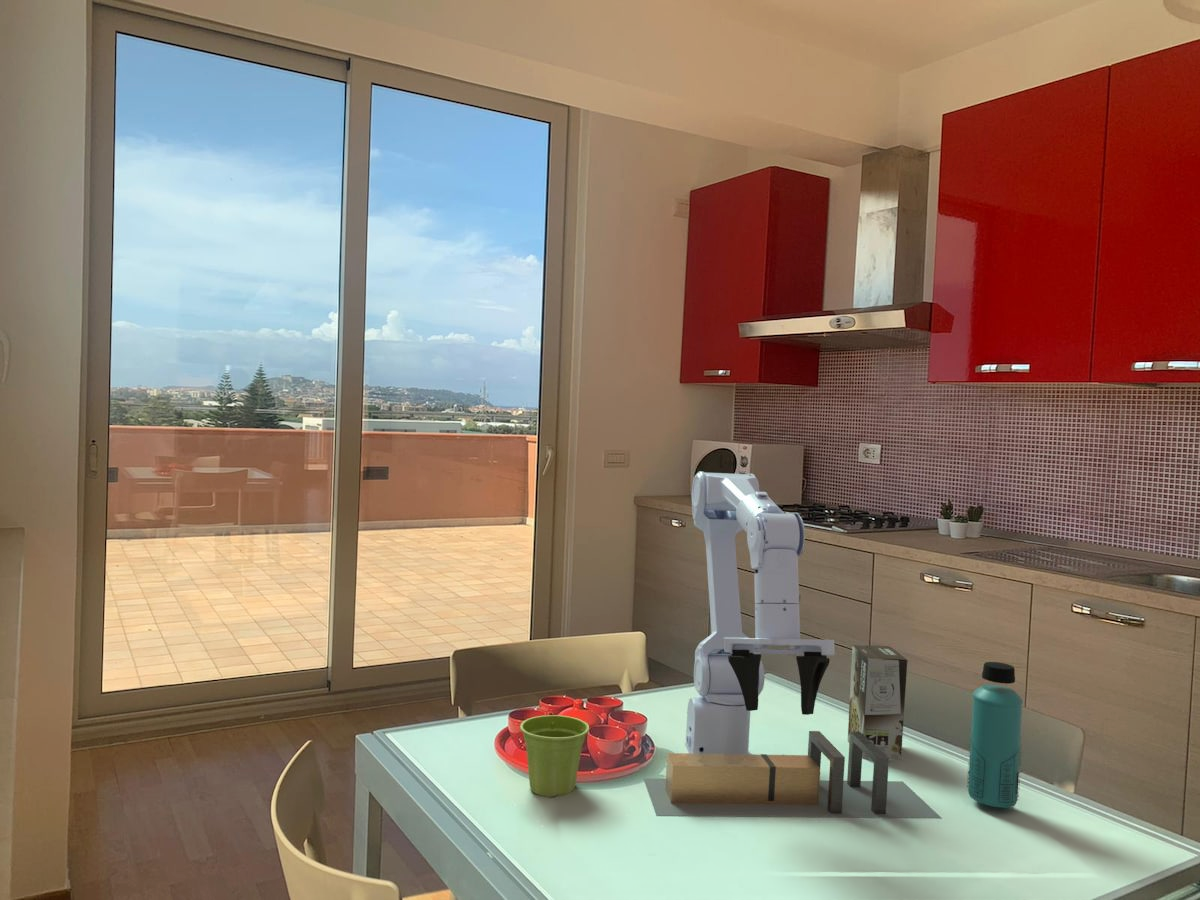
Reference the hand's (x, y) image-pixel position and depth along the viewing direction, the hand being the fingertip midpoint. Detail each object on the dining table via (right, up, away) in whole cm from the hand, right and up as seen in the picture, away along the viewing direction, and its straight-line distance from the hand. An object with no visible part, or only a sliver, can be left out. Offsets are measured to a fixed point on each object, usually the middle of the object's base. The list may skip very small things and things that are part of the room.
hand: (779, 712), depth 114 cm
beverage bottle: (+31, -16, +8) cm, 35 cm away
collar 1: (+8, -14, +8) cm, 18 cm away
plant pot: (-29, -13, +8) cm, 33 cm away
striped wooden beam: (-4, -14, +7) cm, 16 cm away
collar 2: (+14, -14, +9) cm, 21 cm away
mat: (+3, -14, +8) cm, 16 cm away
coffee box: (+21, -15, +28) cm, 38 cm away
